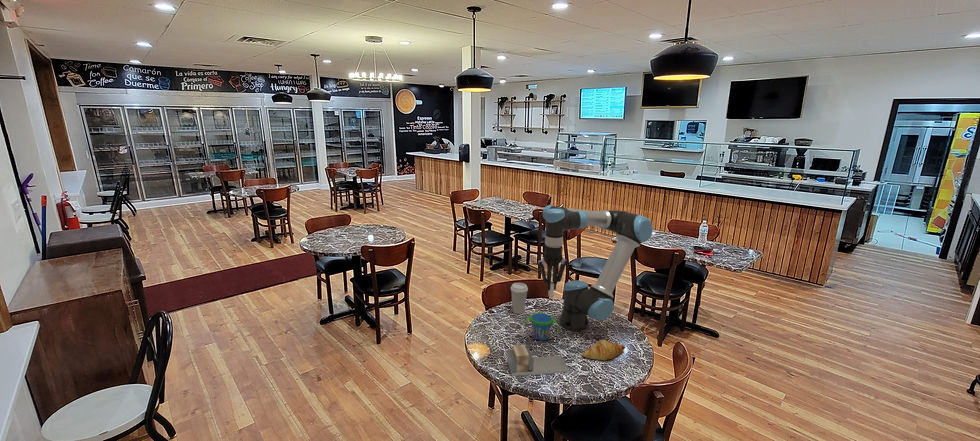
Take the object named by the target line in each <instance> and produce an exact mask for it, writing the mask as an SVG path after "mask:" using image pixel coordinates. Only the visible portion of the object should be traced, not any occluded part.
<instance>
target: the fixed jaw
mask: <svg viewBox="0 0 980 441" xmlns="http://www.w3.org/2000/svg"><path fill="white" fill-rule="evenodd" d="M507 359H508V362H509V365H510V369H511V372H517V360H516V357H515V354H514V352H513V348H509V349H507ZM510 369H509V370H510ZM511 372H510V373H511Z"/></svg>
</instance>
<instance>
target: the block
mask: <svg viewBox="0 0 980 441" xmlns="http://www.w3.org/2000/svg"><path fill="white" fill-rule="evenodd" d="M526 348H527V347H526V346H525V344H517V345H516V344H515V345H512V349H513V352H514V354H515V357H516V360H517V371H527V370H528V364H529V354H528V352H527V350H526Z"/></svg>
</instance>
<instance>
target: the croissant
mask: <svg viewBox="0 0 980 441" xmlns="http://www.w3.org/2000/svg"><path fill="white" fill-rule="evenodd" d="M625 349H626V346H625V344H620V343H615V342H613V341H609V340H607V339H600V340H597V342H596V343H593V345H592V346H590V347H588V348H587V349H586V350H585V351H583V352H582V353H581V355H582V357H583V358H586V359H592V360H597V361H607V360H611V359H614V358H615V357H617V356H618V355H620V354H621V353H623V352H624V350H625Z"/></svg>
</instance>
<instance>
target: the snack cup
mask: <svg viewBox="0 0 980 441" xmlns="http://www.w3.org/2000/svg"><path fill="white" fill-rule="evenodd" d="M528 321H530V322H531V329H532V330H531V331H532V337H533V338H534V339H536V340H538V341H545V340H547V339H548V338H549V337H550V332H551V328H552V325H553V323H554V324H555V326H556V329H555V333H558V329H559V327H558V325H559V323H558V322H557V320H556V319H555V318H553V316H552V315H550V314H549V313H544V312H535V313H533V314H531V316H529V317H528V318H526V320H525V323H524V328H525V330H527V328H528V327H527V325H528V324H527V323H528Z"/></svg>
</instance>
